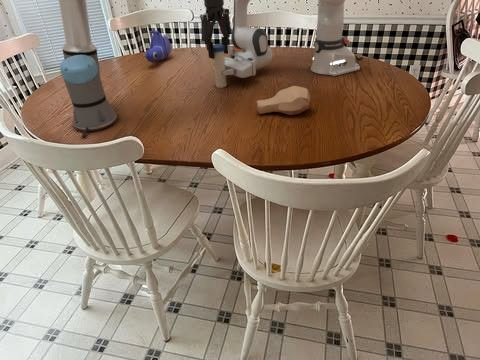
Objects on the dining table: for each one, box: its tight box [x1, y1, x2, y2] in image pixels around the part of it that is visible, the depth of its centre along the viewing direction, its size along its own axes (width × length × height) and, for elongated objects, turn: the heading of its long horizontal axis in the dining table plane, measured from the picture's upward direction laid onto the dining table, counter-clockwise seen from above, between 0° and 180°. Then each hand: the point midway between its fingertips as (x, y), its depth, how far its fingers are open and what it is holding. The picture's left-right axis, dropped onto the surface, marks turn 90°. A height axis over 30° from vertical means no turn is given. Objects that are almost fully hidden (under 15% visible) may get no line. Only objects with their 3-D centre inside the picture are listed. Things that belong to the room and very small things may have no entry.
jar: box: [212, 51, 228, 89], centre depth 152 cm, size 5×5×16 cm
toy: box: [144, 30, 172, 67], centre depth 185 cm, size 10×17×25 cm
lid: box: [213, 43, 225, 52], centre depth 147 cm, size 6×6×2 cm
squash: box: [255, 85, 312, 116], centre depth 130 cm, size 11×20×9 cm, turn 92°
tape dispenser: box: [228, 44, 246, 57], centre depth 185 cm, size 18×5×20 cm
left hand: (218, 55), depth 149 cm, fingers open, 7 cm apart
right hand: (218, 71), depth 152 cm, fingers closed on jar, 5 cm apart
